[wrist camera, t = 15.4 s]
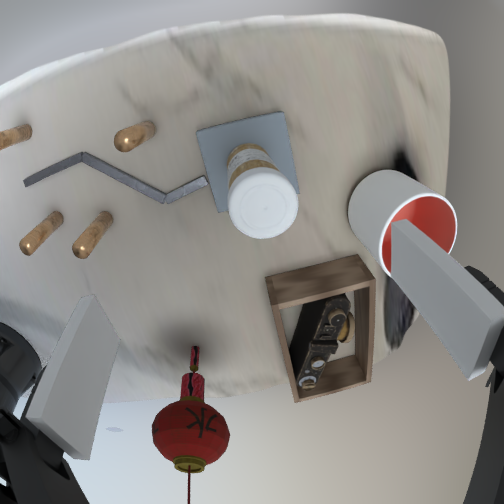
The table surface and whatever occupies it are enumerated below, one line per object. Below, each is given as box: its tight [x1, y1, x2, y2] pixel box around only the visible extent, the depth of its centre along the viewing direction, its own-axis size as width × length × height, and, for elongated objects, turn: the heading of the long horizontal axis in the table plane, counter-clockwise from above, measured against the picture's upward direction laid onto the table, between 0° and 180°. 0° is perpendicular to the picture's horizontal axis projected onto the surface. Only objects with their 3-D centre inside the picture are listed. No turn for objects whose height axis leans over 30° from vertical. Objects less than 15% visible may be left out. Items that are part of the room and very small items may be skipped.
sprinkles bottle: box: [227, 143, 298, 239], centre depth 26 cm, size 5×5×13 cm
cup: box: [348, 170, 457, 277], centre depth 33 cm, size 10×10×10 cm
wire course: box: [0, 121, 208, 259], centre depth 28 cm, size 23×16×8 cm
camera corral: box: [265, 254, 376, 403], centre depth 43 cm, size 13×21×6 cm, turn 12°
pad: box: [196, 111, 300, 213], centre depth 32 cm, size 9×9×2 cm
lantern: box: [152, 346, 230, 504], centre depth 33 cm, size 9×10×30 cm
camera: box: [289, 293, 355, 391], centre depth 41 cm, size 16×7×8 cm, turn 170°
